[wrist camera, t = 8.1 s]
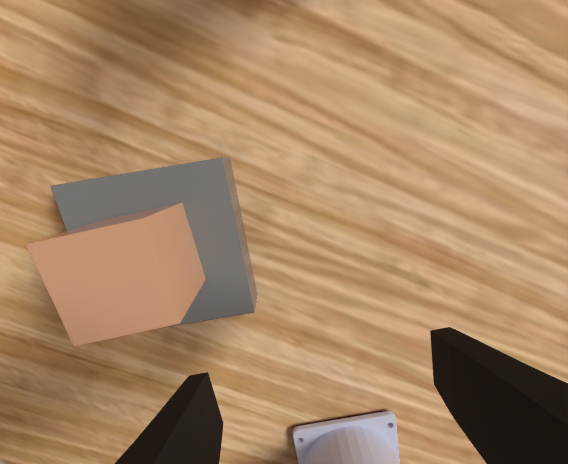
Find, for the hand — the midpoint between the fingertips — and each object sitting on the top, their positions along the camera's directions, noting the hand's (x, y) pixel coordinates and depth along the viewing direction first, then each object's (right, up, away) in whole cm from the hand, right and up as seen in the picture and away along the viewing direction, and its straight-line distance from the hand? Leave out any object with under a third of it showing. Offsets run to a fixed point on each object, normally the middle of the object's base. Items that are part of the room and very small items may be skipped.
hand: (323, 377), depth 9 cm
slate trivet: (-8, +4, +9) cm, 13 cm away
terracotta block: (-8, +4, +6) cm, 11 cm away
